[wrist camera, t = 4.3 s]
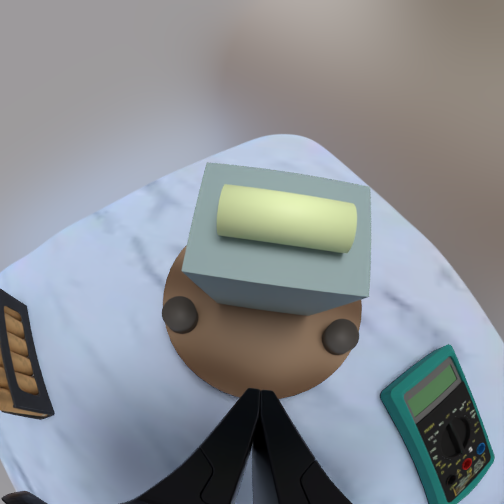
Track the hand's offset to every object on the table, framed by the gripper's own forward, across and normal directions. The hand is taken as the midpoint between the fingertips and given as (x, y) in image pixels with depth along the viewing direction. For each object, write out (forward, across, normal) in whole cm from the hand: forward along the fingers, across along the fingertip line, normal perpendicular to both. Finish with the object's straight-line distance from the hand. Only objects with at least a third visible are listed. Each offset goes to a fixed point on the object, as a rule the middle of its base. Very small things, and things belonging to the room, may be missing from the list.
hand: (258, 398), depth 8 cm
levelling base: (+13, 0, +2) cm, 14 cm away
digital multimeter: (+6, -16, +10) cm, 20 cm away
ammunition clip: (+6, +19, +9) cm, 22 cm away
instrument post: (+12, 0, 0) cm, 12 cm away
